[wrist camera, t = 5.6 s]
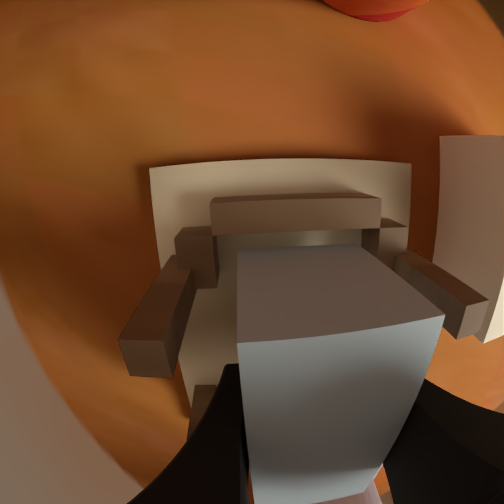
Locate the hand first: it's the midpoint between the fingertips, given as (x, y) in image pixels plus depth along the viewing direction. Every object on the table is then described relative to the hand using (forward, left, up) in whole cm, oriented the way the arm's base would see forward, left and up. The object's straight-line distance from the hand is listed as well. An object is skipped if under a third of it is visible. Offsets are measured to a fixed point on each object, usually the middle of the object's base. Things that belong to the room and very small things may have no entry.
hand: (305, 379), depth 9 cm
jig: (0, 0, -4) cm, 4 cm away
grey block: (0, 0, -2) cm, 2 cm away
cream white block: (+5, -9, -4) cm, 11 cm away
